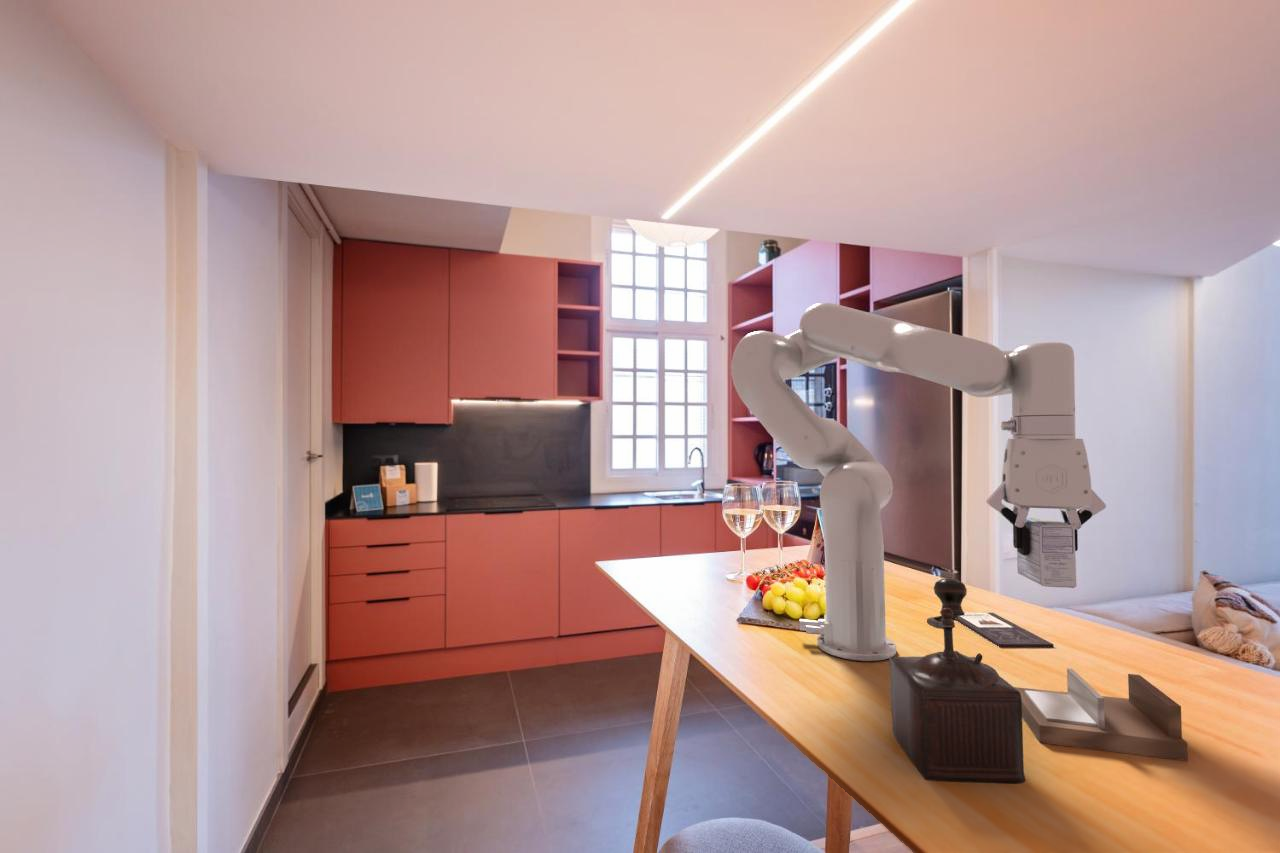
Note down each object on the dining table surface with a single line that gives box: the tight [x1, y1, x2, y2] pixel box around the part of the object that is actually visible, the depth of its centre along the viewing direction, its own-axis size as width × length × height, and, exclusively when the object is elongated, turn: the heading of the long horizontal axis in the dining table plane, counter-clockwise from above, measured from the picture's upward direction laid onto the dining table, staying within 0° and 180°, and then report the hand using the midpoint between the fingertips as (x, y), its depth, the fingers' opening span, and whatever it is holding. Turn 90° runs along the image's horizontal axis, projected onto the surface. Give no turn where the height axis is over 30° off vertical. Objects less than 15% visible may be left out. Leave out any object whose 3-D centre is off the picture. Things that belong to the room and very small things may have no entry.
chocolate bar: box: [955, 612, 1055, 648], centre depth 108 cm, size 9×1×18 cm
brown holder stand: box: [1013, 668, 1189, 762], centre depth 71 cm, size 14×11×6 cm
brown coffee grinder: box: [889, 577, 1026, 784], centre depth 68 cm, size 16×11×18 cm
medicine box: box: [1016, 517, 1077, 589], centre depth 84 cm, size 8×4×9 cm, turn 168°
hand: (1044, 553), depth 84 cm, fingers closed on medicine box, 4 cm apart
